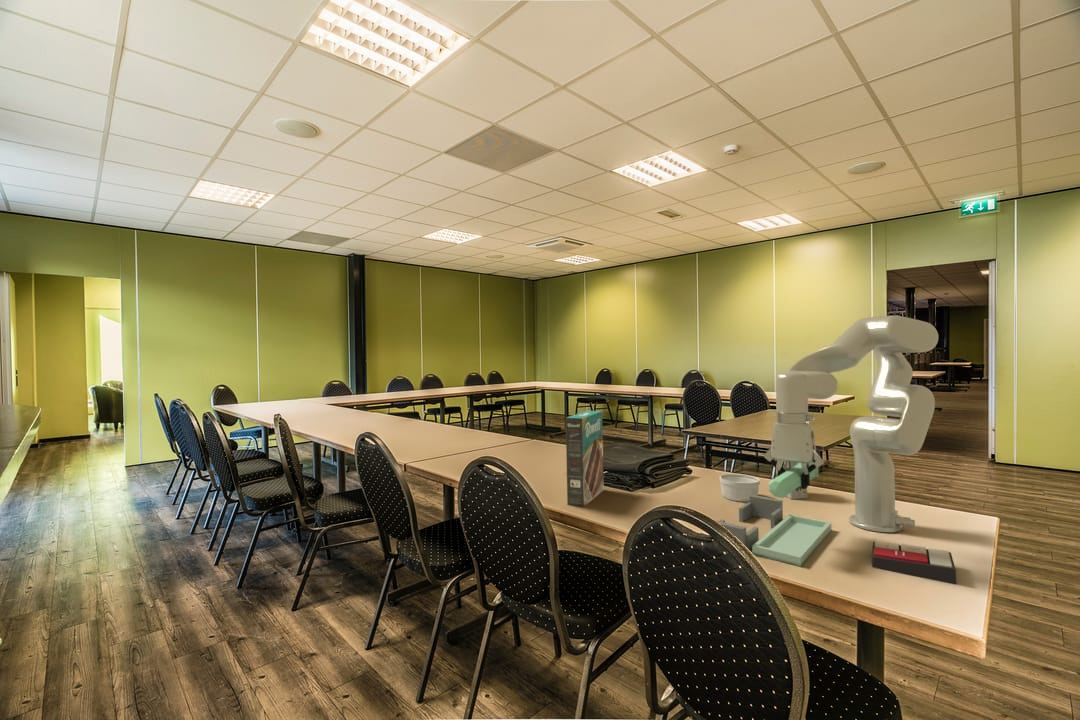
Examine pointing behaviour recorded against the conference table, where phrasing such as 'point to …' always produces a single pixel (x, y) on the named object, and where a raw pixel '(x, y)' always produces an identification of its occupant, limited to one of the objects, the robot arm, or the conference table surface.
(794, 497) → the coffee box
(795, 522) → the tray
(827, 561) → the conference table surface
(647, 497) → the conference table surface
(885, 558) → the black switch panel
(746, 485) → the ramekin
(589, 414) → the cake mix box
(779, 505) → the bay
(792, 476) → the green hexagonal bar
